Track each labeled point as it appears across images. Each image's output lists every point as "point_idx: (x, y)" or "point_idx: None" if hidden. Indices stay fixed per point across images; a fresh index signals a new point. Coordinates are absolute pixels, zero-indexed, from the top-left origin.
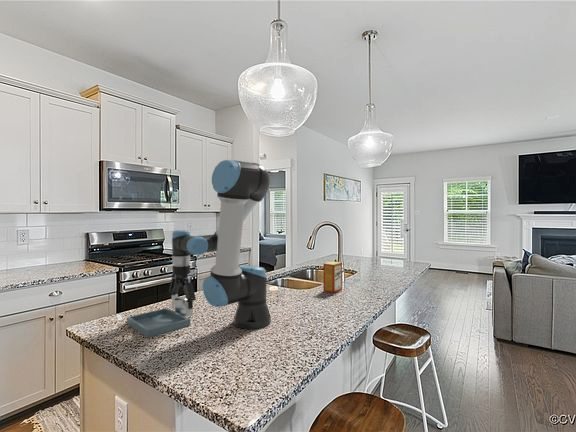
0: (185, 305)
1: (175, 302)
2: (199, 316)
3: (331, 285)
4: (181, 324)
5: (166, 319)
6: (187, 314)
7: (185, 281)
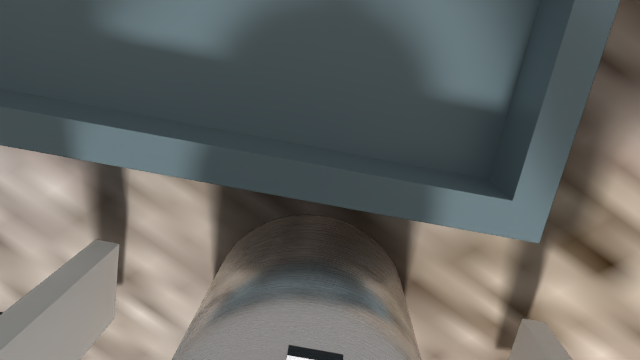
0: None
1: (306, 318)
2: None
3: None
4: None
5: (238, 12)
6: (77, 258)
7: None
